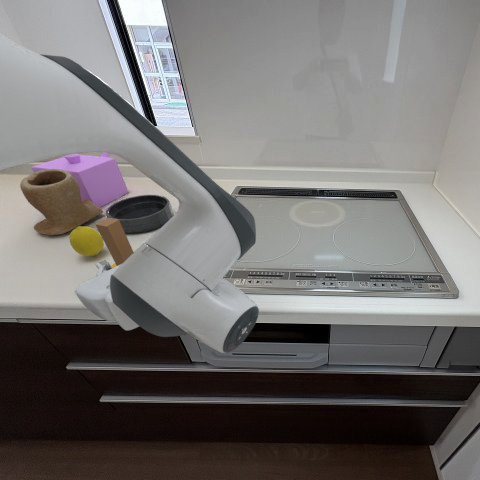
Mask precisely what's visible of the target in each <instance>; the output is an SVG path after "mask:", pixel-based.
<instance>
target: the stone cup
mask: <svg viewBox="0 0 480 480" xmlns="http://www.w3.org/2000/svg"><path fill="white" fill-rule="evenodd" d="M19 187H20V190H21V192H22V195H23V196H24V198H25V199H26V200H27V202H28V203H29V205H30V206H31V207H33V208H34V209H35V210H36V211H38V212H39V213H41V215H42V216H43V217H44V219H42V220H40V221H38V222H37V223H35V224H34V226H33V230H34V231H35V232H37V233H39V234H42V235H48V236H55V235H63V234H66V233H68V232H71V231H73V230H74V229H76V228H77V227H78V226H82V225H83V224H85V223H87V222H89V221H90V220H92V219H94V218H96V217H97V216H99V215H100V214H102V213H103V212H104V210H103V209H102V207H100V208H99V207H98V206H96V205H94V204H93V202H92V201H89V200H84V201H82V200H81V195H80V188H79V184H78V182H77V181H76V179H75V178H74V177H73V176H72V174H70V173H69V172H67V171H65V170H61V169H46V170H41V171H37V172H32V173H31V174H30V175H28V176H26V177H24V178H23V179H21V182H20V185H19Z"/></svg>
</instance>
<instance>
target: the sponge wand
mask: <svg viewBox="0 0 480 480" xmlns="http://www.w3.org/2000/svg"><path fill="white" fill-rule="evenodd" d="M95 227H96V229H97V232H98V233H99V234H100V235H101V237H102V239H103V243H104V245H105V246H106V249H107V251H108V252H109V254H110V256H111V258H112V259H113V262H114V263H113V264H111V265H110V266H111V268H114V267H116V266H118V265H120V264H122V263H123V262H125V261H126V260H127V259H128V258H129V257H130V256H131V255H132V254H133V253H134V252H135V251H134V250H133V248H132V246H131V243H130V241H129V239H128V237H127V233H125V232H124V230H123V228H122V226H121V223H120V221H119V220H117V219H112V218H107V217H106V218H104V219H102V220H101V221H99V222H96V223H95Z"/></svg>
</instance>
